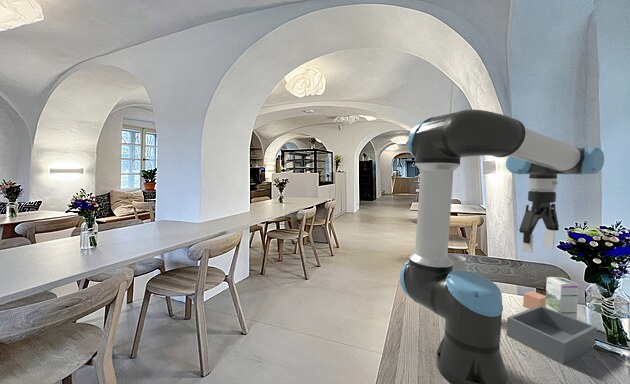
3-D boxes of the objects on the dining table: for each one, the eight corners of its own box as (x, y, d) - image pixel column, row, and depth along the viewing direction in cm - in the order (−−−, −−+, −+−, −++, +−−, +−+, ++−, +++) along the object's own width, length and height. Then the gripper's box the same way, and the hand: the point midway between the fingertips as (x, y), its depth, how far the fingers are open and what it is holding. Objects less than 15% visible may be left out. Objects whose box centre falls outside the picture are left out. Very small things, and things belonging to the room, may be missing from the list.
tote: (562, 364, 69) (564, 343, 68) (506, 335, 81) (507, 317, 81) (595, 345, 76) (596, 327, 76) (538, 321, 88) (540, 305, 88)
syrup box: (577, 328, 85) (580, 283, 84) (558, 328, 85) (561, 283, 84) (561, 318, 90) (564, 276, 89) (543, 318, 91) (546, 276, 90)
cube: (538, 313, 94) (539, 299, 94) (523, 306, 99) (523, 293, 98) (546, 310, 96) (547, 296, 96) (530, 303, 101) (531, 290, 100)
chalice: (438, 302, 102) (440, 255, 100) (450, 298, 105) (452, 253, 103) (455, 311, 95) (457, 261, 94) (468, 307, 98) (470, 259, 97)
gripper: (534, 192, 86) (530, 257, 87) (573, 190, 96) (569, 248, 98) (509, 191, 93) (505, 251, 94) (548, 189, 103) (544, 243, 105)
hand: (538, 249), depth 96 cm, fingers open, 13 cm apart
